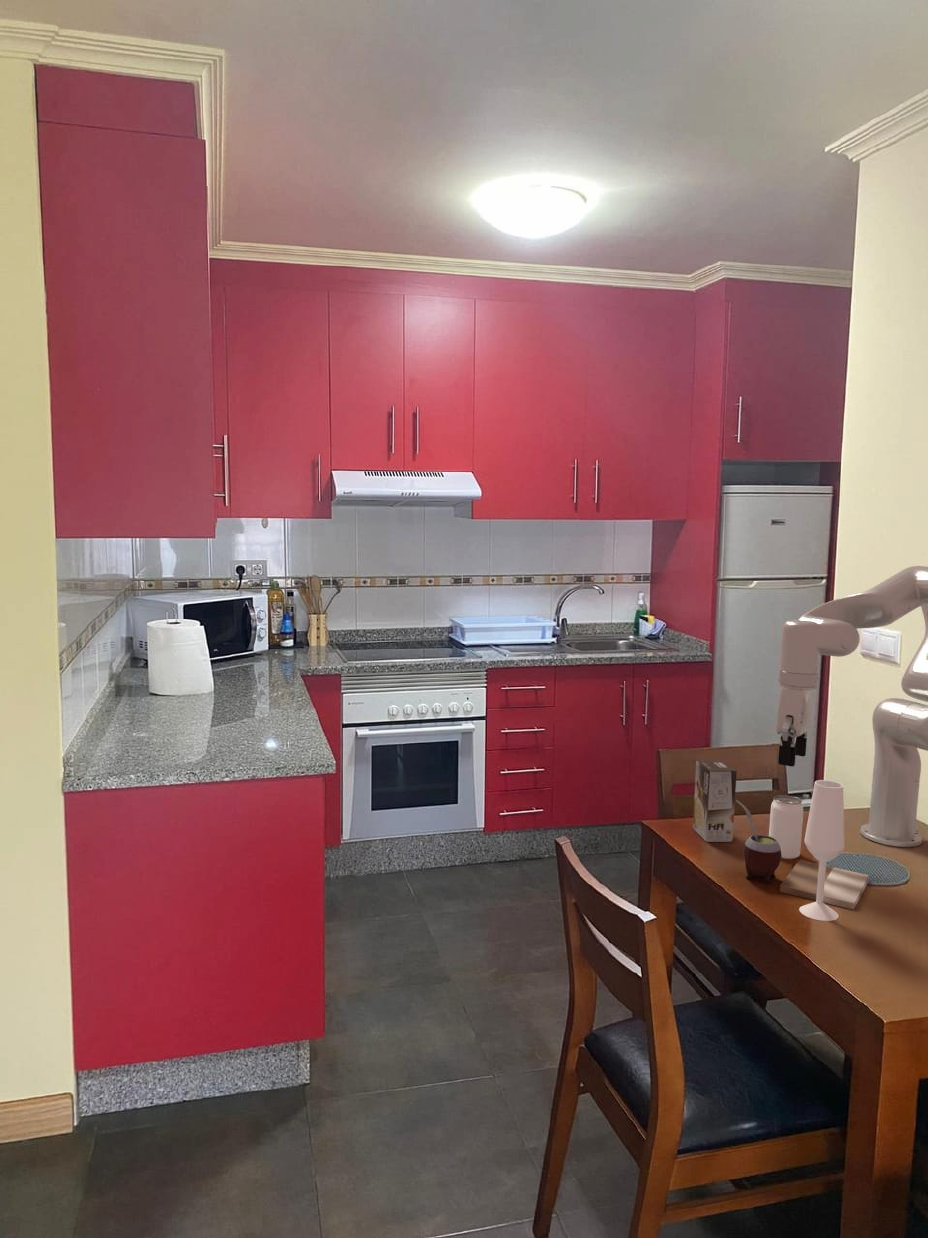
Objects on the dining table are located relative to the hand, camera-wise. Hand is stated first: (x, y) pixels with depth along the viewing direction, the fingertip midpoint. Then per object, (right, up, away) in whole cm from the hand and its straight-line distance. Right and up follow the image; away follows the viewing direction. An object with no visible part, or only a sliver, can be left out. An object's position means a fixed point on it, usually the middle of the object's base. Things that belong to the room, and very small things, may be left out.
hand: (792, 760), depth 189 cm
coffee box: (-13, -19, +13) cm, 26 cm away
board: (+1, -22, -14) cm, 26 cm away
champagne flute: (-5, -24, -26) cm, 35 cm away
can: (-1, -21, +2) cm, 21 cm away
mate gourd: (-11, -22, -11) cm, 27 cm away
